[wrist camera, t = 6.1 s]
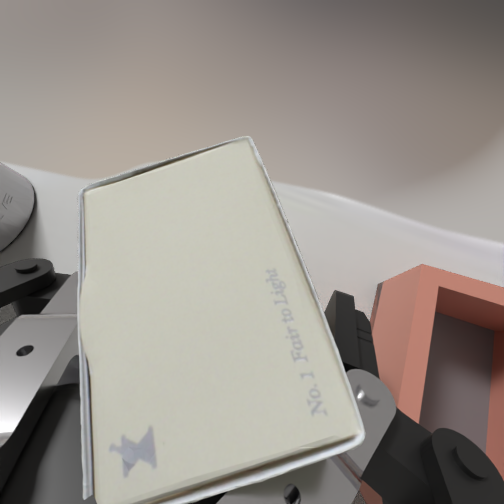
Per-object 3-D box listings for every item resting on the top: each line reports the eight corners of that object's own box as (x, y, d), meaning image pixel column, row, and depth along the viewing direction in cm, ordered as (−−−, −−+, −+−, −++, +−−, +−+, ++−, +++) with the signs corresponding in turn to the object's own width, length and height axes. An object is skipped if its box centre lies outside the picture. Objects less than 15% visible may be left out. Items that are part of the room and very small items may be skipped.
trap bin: (340, 453, 13) (377, 525, 8) (378, 284, 15) (422, 264, 11) (485, 522, 11) (634, 661, 7) (499, 322, 14) (612, 318, 9)
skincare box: (302, 358, 14) (396, 467, 3) (234, 379, 14) (72, 565, 3) (271, 266, 17) (258, 123, 5) (212, 284, 17) (68, 182, 5)
